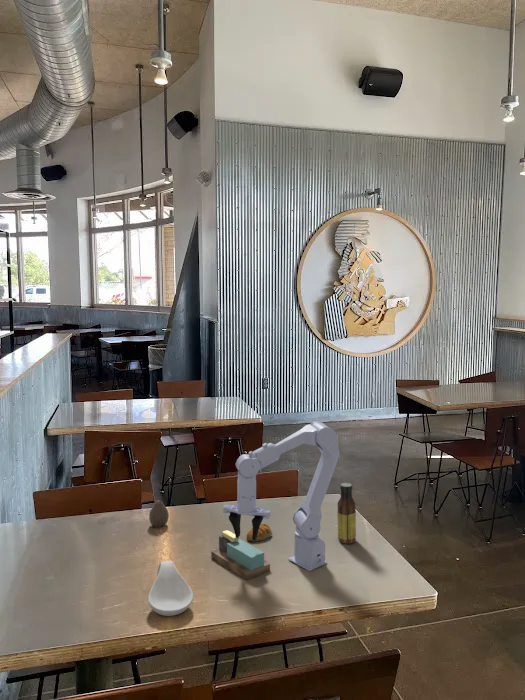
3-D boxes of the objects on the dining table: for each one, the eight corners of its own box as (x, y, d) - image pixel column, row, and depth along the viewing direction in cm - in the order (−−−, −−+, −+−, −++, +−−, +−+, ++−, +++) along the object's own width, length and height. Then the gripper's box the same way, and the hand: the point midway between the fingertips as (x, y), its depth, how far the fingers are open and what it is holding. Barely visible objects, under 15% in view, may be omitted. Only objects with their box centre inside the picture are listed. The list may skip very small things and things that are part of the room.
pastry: (256, 545, 176) (256, 534, 176) (241, 539, 180) (241, 528, 180) (273, 536, 183) (273, 525, 183) (258, 530, 187) (258, 520, 187)
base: (270, 570, 159) (270, 550, 158) (247, 580, 153) (247, 559, 153) (233, 548, 173) (233, 530, 172) (211, 557, 167) (211, 538, 166)
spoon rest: (196, 619, 134) (196, 592, 134) (150, 626, 131) (149, 599, 130) (183, 573, 157) (183, 550, 156) (143, 579, 154) (143, 555, 153)
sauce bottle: (355, 537, 182) (356, 481, 181) (356, 545, 176) (358, 488, 174) (336, 536, 183) (337, 480, 181) (337, 544, 177) (338, 487, 175)
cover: (264, 565, 158) (264, 552, 158) (251, 570, 155) (251, 557, 154) (239, 550, 167) (239, 538, 167) (226, 555, 164) (226, 543, 163)
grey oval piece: (145, 527, 188) (145, 504, 187) (155, 520, 195) (154, 497, 194) (163, 530, 186) (162, 506, 185) (171, 522, 193) (171, 499, 192)
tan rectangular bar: (238, 541, 164) (238, 536, 164) (233, 542, 163) (233, 538, 163) (227, 534, 169) (227, 530, 169) (222, 536, 168) (222, 531, 168)
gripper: (273, 492, 160) (272, 535, 162) (228, 487, 164) (228, 529, 166) (266, 501, 154) (266, 545, 155) (220, 495, 158) (220, 538, 159)
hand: (246, 537), depth 160 cm, fingers open, 5 cm apart
